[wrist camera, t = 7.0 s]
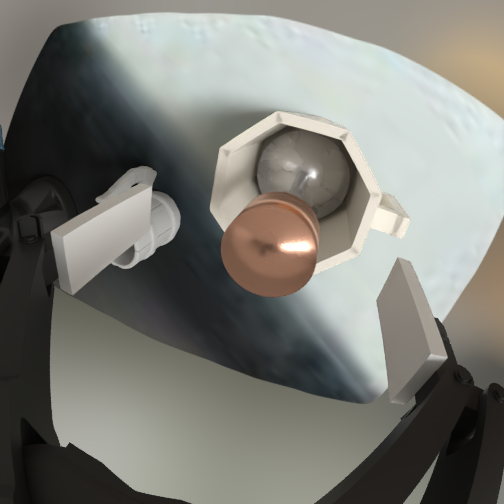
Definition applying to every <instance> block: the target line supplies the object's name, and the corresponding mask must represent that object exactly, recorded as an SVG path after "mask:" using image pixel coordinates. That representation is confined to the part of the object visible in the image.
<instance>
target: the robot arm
mask: <svg viewBox="0 0 504 504" xmlns="http://www.w3.org/2000/svg"><path fill="white" fill-rule="evenodd" d="M4 149H5V148H4V146H3V139H2V128H1V125H0V504H191V503H188V502H185V501H182V500H177V499H171V498H165V497H160V496H155V495H150V494H145V493H141V492H137V491H135V490H133V489H132V488H131V487H129V486H128V485H127V484H126V483H124V482H123V481H122V480H121V479H120V478H118V477H117V476H116V475H115V474H114V473H113V472H111V470H109V469H108V468H107V467H106V466H105V465H104V464H103V463H102V462H100V461H98V460H97V459H95V458H93V457H92V456H90V455H88V454H87V453H85V452H84V451H82V450H80V449H79V448H77V447H76V446H74V445H73V444H71V443H69V444H68V445H67V447H62V446H60V443H59V440H58V437H57V434H56V432H55V430H54V426H53V420H52V409H51V394H50V334H51V319H52V318H51V317H52V307H53V297H54V284H53V281H55V280H56V279H57V278H59V283H60V288H61V289H62V290H64V291H65V292H67V293H69V294H71V295H74V294H75V293H76V292H77V291H78V290H79V289H80V288H82V287H83V286H84V285H85V284H86V283H87V282H89V281H90V280H91V279H92V278H93V277H94V276H96V275H97V274H98V273H99V272H100V271H101V270H103V269H104V268H105V267H106V266H107V265H109V264H110V263H111V262H112V261H113V260H115V259H116V258H117V257H118V256H120V255H121V254H122V253H123V252H125V251H126V250H127V249H128V248H130V247H131V246H132V245H133V244H135V243H136V242H137V241H138V240H140V239H141V238H142V237H143V236H145V235H146V234H147V233H149V232H150V213H151V197H152V186H150V185H146V184H142V183H140V184H138V185H136V186H134V187H132V188H130V189H128V190H126V191H124V192H122V193H120V194H118V195H116V196H114V197H112V198H110V199H108V200H106V201H104V202H102V203H100V204H98V205H97V206H95V207H93V208H91V209H89V210H87V211H86V212H84V213H82V214H79V215H77V211H76V208H75V205H74V202H73V200H72V198H71V196H70V194H69V192H68V190H67V189H66V188H65V186H64V185H63V184H62V183H61V182H60V181H59V180H58V179H56V178H55V177H53V176H48V175H46V176H43V177H40V178H38V179H35V180H34V181H32V182H31V183H30V184H29V185H28V186H27V187H26V188H25V189H24V190H23V191H22V192H21V193H20V194H18V195H17V196H16V197H15V198H14V199H13V200H11V201H9V197H8V190H7V183H6V175H5V163H4ZM376 301H377V307H378V313H379V319H380V325H381V331H382V338H383V345H384V352H385V360H386V368H387V377H388V388H389V399H390V402H392V403H398V404H407V403H408V402H409V401H410V400H411V399H412V398H413V397H414V396H415V399H416V404H415V405H414V406H413V407H412V408H411V409H410V410H409V411H408V412H407V413H406V414H405V415H404V416H403V417H402V418H401V421H400V423H399V424H398V425H397V426H396V427H395V428H394V429H393V431H392V432H391V433H390V434H389V435H388V436H387V437H386V438H385V439H384V441H383V442H382V443H381V444H380V445H379V446H378V447H377V448H376V449H375V450H374V451H373V452H372V453H371V454H370V455H369V456H368V457H367V458H366V459H365V460H364V461H363V462H362V463H361V464H360V465H359V466H358V467H357V468H356V469H355V470H353V471H352V472H351V473H350V474H349V475H348V476H347V477H346V478H345V479H344V480H342V481H341V482H340V483H339V484H338V485H337V486H335V487H334V488H333V489H332V490H331V491H329V492H328V493H327V494H326V495H325V496H323V497H322V498H321V499H320V500H318V501H317V502H316V503H314V504H403V503H404V501H405V500H406V499H407V498H408V496H409V495H410V494H411V492H412V491H413V490H414V488H415V487H416V486H417V484H418V483H419V482H420V480H421V479H422V478H423V476H424V475H425V473H426V472H427V470H428V469H429V468H430V466H431V465H432V463H433V461H434V460H435V458H436V457H437V455H438V454H439V456H438V459H437V462H436V465H435V467H434V470H433V473H432V476H431V478H430V481H429V483H428V486H427V488H426V491H425V493H424V495H423V498H422V500H421V502H420V504H496V503H497V499H498V495H499V490H500V485H501V481H502V475H503V469H504V388H503V387H501V386H500V385H499V384H497V383H491V384H490V385H489V386H488V387H487V388H486V389H485V390H483V389H480V388H478V387H476V386H474V381H473V377H472V376H471V374H470V373H469V371H468V370H467V369H466V368H464V367H463V366H461V365H458V364H457V362H456V358H455V355H454V353H453V350H452V347H451V344H450V341H449V338H448V337H447V333H446V330H445V328H444V326H443V325H442V323H441V322H440V321H439V319H438V318H434V316H433V314H432V311H431V309H430V306H429V304H428V301H427V299H426V296H425V294H424V291H423V289H422V287H421V284H420V282H419V280H418V277H417V275H416V273H415V271H414V268H413V266H412V264H411V262H410V261H408V260H405V259H402V258H399V257H398V258H397V260H396V262H395V264H394V266H393V268H392V270H391V272H390V274H389V276H388V279H387V281H386V283H385V285H384V287H383V289H382V290H381V292H380V294H379V296H378V298H377V300H376ZM439 452H440V453H439Z"/></svg>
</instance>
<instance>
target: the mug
mask: <svg viewBox="0 0 504 504" xmlns="http://www.w3.org/2000/svg"><path fill="white" fill-rule="evenodd" d="M156 175H157V172H156V171H155V170H153V169H152V168H150V167H147V166H139V167H138V168H132V169H130V170H128V171H127V172H126V173H125V174H124V175H123V176H122V177H121V178H120V179H118V180H117V182H116V183H115V184H114V185H113V186H111V187H110V188H109V190H108V191H107V192H105V193H104V194H103V195H101V196H99V197H97V198H96V202H98V203H99V204H100V203H102V202H104V201H106V200H108V199H110V198H112V197H114V196H116V195H118V194H120V193H122V192H124V191H126V190H128V189H130V188H131V186H132V185H134V184H136V183H138V184H140V183H142V184H146V185H150V186H152V185H153V182H154V180H155V178H156ZM180 219H181V218H180V212H179V210H178V208H177V206H176V204H175V202H174V201H173V199H172V198H170V196H168V195H167V194H165V193H163V192H159V191H152V197H151V213H150V232H149V233H147V234H146V235H145V236H143V237H142V238H141V239H140V240H138V241H137V242H136V243H135V244H133V245H132V246H131V247H130V248H128V249H127V250H126V251H125V252H123V253H122V254H121V255H120V256H118V257H117V258H116V259H115V260H113V261H112V262H111V263H112V264H113V265H117V266H119V267H120V268H123V269H126V268H131V267H133V266H134V265H135V264H137V263H138V262H139V261H140V260H143V259H146V258H148V257H149V256H150V255H152V254H153V253H154V252H155V249H156V248H157V247H159V246H162V245H165V244H167V243H168V242H169V241H171V240H172V239H173V238H174V236H175V235H176V232H177V231H178V229H179V226H180Z"/></svg>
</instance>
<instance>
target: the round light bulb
mask: <svg viewBox="0 0 504 504" xmlns="http://www.w3.org/2000/svg"><path fill="white" fill-rule="evenodd" d="M257 177H258V184H259V188H260V190H261V193H262V194H261V195H259V196H257V197H256V198H254V199H253V200H252V201H250V202H249V203H248V204H247V206H246V207H245V208H244V209H243V210H242V211H241V212H240V213H239V215H238V216H237V217H236V218H235V219H234V220H233V221H232V223H231V224H230V225H229V226H228V227H227V229H226V231H225V233H224V235H223V238H222V242H221V255H222V260H223V263H224V266H225V268H226V270H227V271H228V273H229V274H230V276H231V277H232V278H233V279H234V280H235V281H236V282H237V283H238V284H239V285H240V286H241V287H243V288H245V289H246V290H248V291H250V292H252V293H255V294H257V295H261V296H266V297H281V296H286V295H289V294H292V293H294V292H296V291H298V290H300V289H301V288H302V287H303V286H305V285H306V284H307V282H308V281H309V280H310V278H311V277H312V275H313V273H314V270H315V267H316V261H317V253H318V245H319V236H320V227H319V222H318V219H319V218H322V217H325V216H327V215H328V214H330V213H331V212H333V211H334V210H335V209H336V208H337V207H338V206H339V205H340V204H341V203H342V201H343V200H344V198H345V196H346V193H347V191H348V187H349V180H350V176H349V168H348V164H347V161H346V159H345V157H344V155H343V153H342V151H341V150H340V149H339V147H338V146H337V145H336V144H335V143H334V142H333V141H332V140H330V139H329V138H327V137H325V136H323V135H322V134H319V133H316V132H312V131H305V130H300V131H292V132H289V133H286V134H283V135H281V136H279V137H278V138H276V139H275V140H273V141H272V142H271V143H270V144H269V145H268V146H267V147H266V149H265V150H264V152H263V153H262V156H261V158H260V161H259V164H258V170H257Z"/></svg>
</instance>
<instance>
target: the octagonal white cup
mask: <svg viewBox="0 0 504 504" xmlns="http://www.w3.org/2000/svg"><path fill="white" fill-rule="evenodd" d="M300 130H305V131H312V132H316V133H319V134H322V135H323V136H325V137H327V138H329V139H330V140H332V141H333V142H334V143H335V144H336V145H337V146H338V147H339V149H340V150H341V151H342V153H343V155H344V157H345V159H346V161H347V164H348V168H349V176H350V180H349V187H348V191H347V193H346V196H345V198H344V200H343V201H342V203H341V204H340V205H339V206H338V207H337V208H336V209H335V210H334V211H333V212H331V213H330V214H328V215H327V216H325V217H322V218H319V219H318V222H319V227H320V236H319V245H318V253H317V261H316V267H315V270H314V273H313V275H314V274H317V273H319V272H322V271H324V270H326V269H329V268H331V267H333V266H336V265H338V264H340V263H343V262H345V261H347V260H349V259H352V258H354V257H356V256H359V255H360V252H361V250H362V247H363V245H364V243H365V240H366V238H367V235H368V232H369V230H370V228H373V229H376V230H379V231H382V232H384V233H387V234H390V235H393V236H396V237H399V238H401V239H403V237H404V235H405V232H406V230H407V227H408V225H409V223H410V220H411V219H410V218H409V216H408V215H407V213H406V212H405V210H404V209H403V208H402V206H401V205H400V203H399V202H398V200H397V199H396V198H395V196H393V195H390V194H387V193H385V192H382V191H381V190H380V188H379V186H378V184H377V182H376V180H375V178H374V176H373V174H372V172H371V170H370V168H369V166H368V164H367V162H366V160H365V158H364V156H363V154H362V153H361V151H360V149H359V147H358V145H357V143H356V142H355V140H354V138H353V136H352V134H351V133H350V131H349V130H348V129H346V128H345V127H343V126H342V125H340V124H336V123H333V122H331V121H329V120H327V119H325V118H322V117H318V116H314V115H304V114H300V113H295V112H284V111H276V112H275V113H273V114H271V115H270V116H268V117H266V118H265V119H263V120H262V121H260V122H258V123H257V124H255V125H254V126H252V127H251V128H249V129H247V130H246V131H244V132H243V133H241V134H240V135H238V136H237V137H235V138H234V139H232V140H231V141H229V142H228V143H226V144H225V145H223V146H222V147H220V149H219V155H218V160H217V166H216V172H215V178H214V184H213V191H212V197H211V203H210V211H211V213H212V214H213V216H214V217H215V219H216V220H217V222H218V223H219V225H220V226H221V228H222V229H223V231H224V232H225V231H226V229H227V227H228V226H229V225H230V224H231V223H232V221H233V220H234V219H235V218H236V217H237V216H238V215H239V213H240V212H241V211H242V210H243V209H244V208H245V207H246V206H247V204H248V203H249V202H250V201H252V200H253V199H254V198H256V197H257V196H259V195H261V194H262V193H261V190H260V188H259V184H258V177H257V170H258V164H259V161H260V158H261V156H262V153H263V152H264V150H265V149H266V147H267V146H268V145H269V144H270V143H271V142H272V141H273V140H275V139H276V138H278V137H279V136H281V135H283V134H286V133H289V132H292V131H300Z"/></svg>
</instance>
